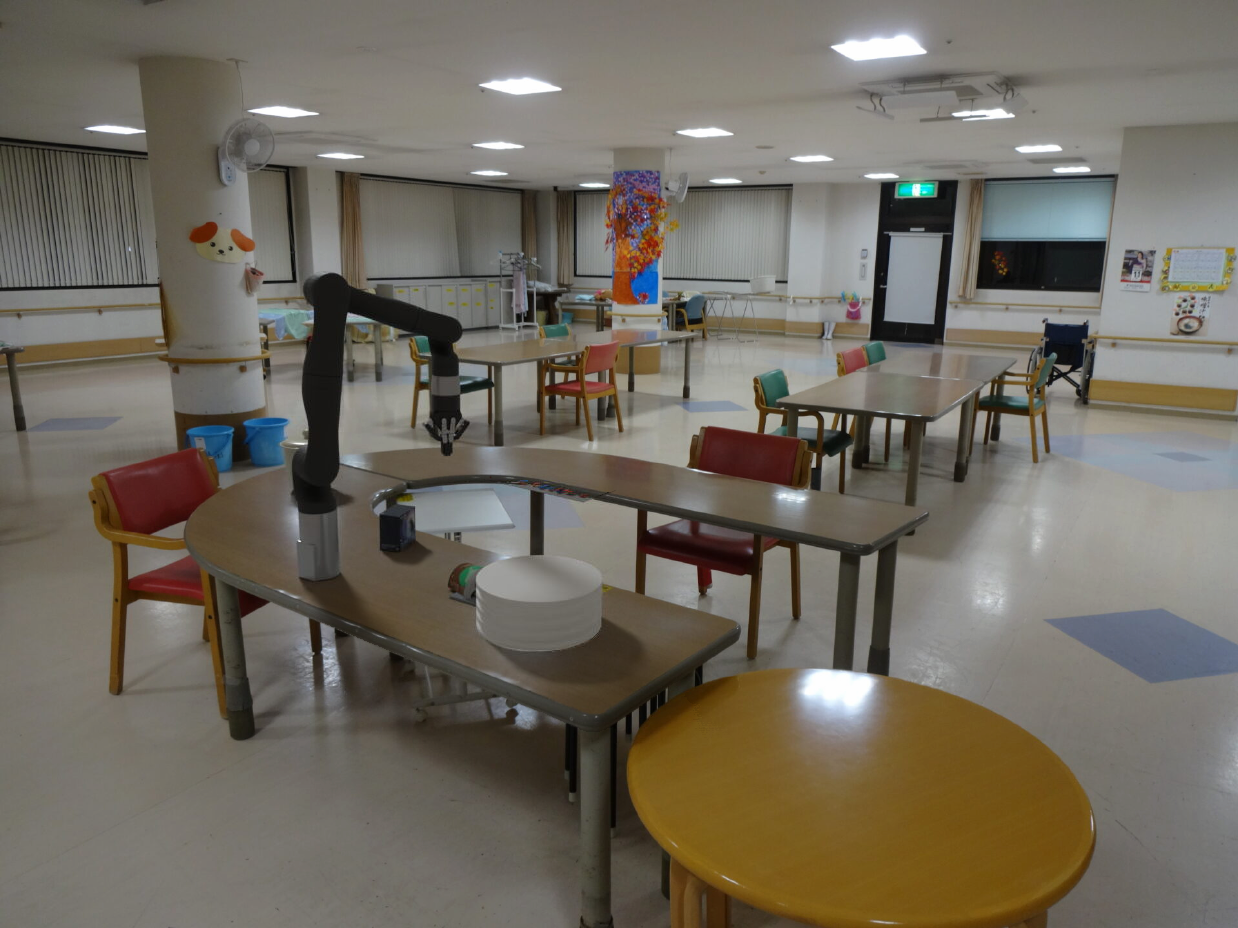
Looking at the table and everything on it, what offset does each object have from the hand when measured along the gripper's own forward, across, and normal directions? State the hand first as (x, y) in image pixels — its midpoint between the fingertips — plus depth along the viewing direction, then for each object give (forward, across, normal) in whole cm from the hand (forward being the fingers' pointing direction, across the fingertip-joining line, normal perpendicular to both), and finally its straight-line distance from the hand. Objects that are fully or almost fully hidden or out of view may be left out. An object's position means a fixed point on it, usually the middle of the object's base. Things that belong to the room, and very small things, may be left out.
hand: (446, 455), depth 231 cm
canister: (+27, -23, +76) cm, 84 cm away
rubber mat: (+27, 0, -32) cm, 42 cm away
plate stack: (+27, +3, -54) cm, 61 cm away
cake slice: (+23, -5, -25) cm, 34 cm away
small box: (+27, -11, +10) cm, 31 cm away
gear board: (+28, +54, +51) cm, 79 cm away
